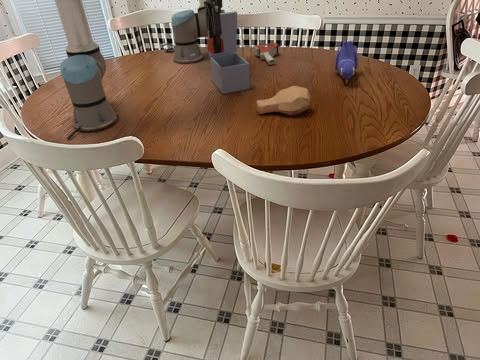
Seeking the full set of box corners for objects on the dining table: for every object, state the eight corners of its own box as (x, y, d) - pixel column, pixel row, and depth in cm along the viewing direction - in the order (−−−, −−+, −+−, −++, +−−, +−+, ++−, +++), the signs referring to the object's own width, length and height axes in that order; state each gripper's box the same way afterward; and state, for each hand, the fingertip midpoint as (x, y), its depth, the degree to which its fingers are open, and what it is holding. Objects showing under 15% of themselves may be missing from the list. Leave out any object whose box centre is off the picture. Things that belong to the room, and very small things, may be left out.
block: (224, 51, 140) (223, 38, 137) (213, 54, 138) (212, 41, 135) (218, 48, 143) (217, 36, 140) (208, 51, 141) (206, 39, 138)
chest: (250, 88, 152) (249, 63, 146) (222, 94, 149) (220, 68, 143) (237, 76, 165) (236, 52, 159) (212, 80, 162) (209, 56, 156)
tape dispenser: (271, 69, 174) (289, 54, 187) (272, 58, 171) (290, 44, 183) (241, 62, 182) (260, 49, 194) (241, 52, 178) (260, 39, 191)
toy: (333, 77, 168) (334, 87, 145) (335, 39, 161) (336, 43, 139) (355, 77, 166) (359, 86, 143) (358, 38, 159) (363, 42, 137)
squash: (314, 116, 128) (313, 95, 122) (259, 125, 130) (256, 105, 124) (308, 99, 136) (307, 78, 129) (257, 108, 138) (253, 88, 131)
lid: (237, 12, 145) (230, 3, 150) (208, 16, 142) (202, 6, 147) (236, 51, 158) (230, 42, 163) (209, 56, 155) (204, 46, 160)
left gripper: (227, -14, 120) (232, 55, 134) (212, -20, 135) (218, 43, 148) (205, -11, 119) (213, 58, 132) (193, -18, 133) (201, 46, 147)
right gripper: (227, -39, 134) (231, 27, 148) (216, -42, 146) (221, 20, 160) (208, -37, 133) (214, 29, 147) (198, -40, 144) (205, 22, 158)
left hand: (216, 50), depth 140 cm, fingers closed on block, 5 cm apart
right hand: (218, 24), depth 153 cm, fingers closed on lid, 2 cm apart
